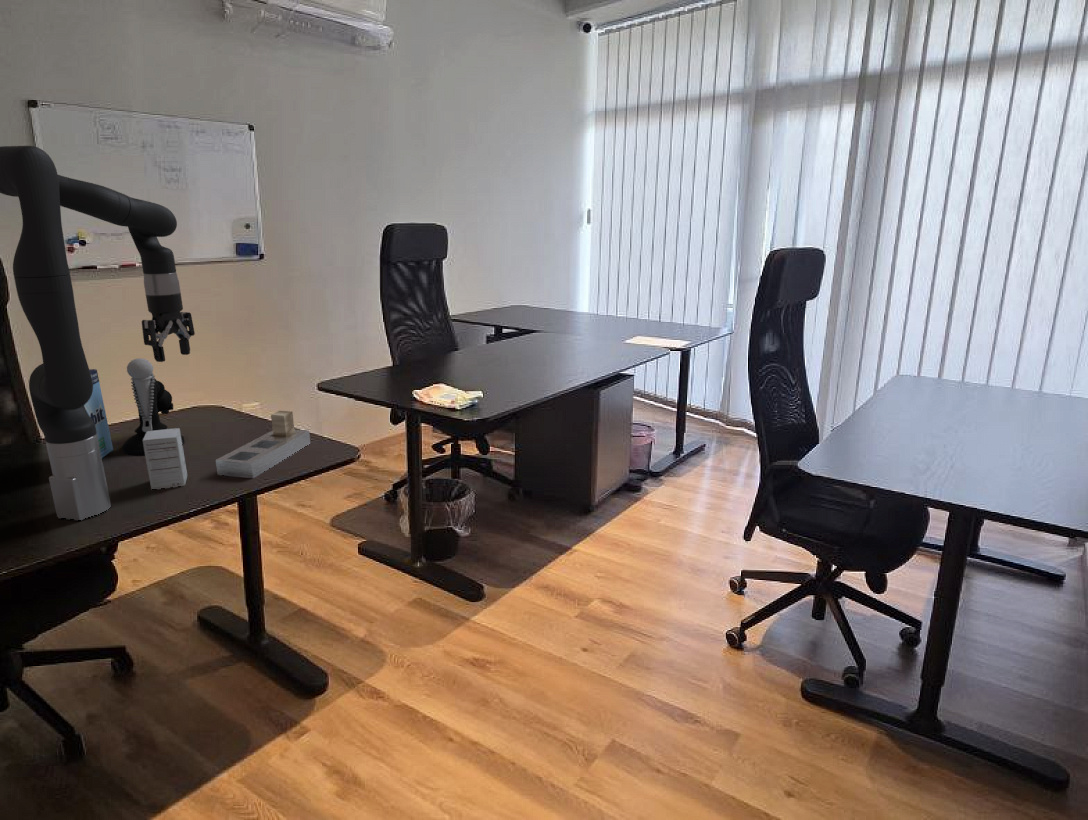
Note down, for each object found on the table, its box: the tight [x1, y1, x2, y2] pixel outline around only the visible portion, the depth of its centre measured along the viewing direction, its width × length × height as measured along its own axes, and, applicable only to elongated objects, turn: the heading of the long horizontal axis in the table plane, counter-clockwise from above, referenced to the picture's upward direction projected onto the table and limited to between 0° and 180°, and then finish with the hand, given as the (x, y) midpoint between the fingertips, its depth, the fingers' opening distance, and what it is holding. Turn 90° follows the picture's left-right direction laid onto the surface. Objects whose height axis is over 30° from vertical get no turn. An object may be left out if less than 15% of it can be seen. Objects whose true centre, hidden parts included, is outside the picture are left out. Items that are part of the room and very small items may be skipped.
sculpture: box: [121, 358, 185, 456], centre depth 196 cm, size 15×24×25 cm, turn 15°
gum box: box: [84, 368, 114, 459], centre depth 180 cm, size 20×5×23 cm, turn 8°
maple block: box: [270, 410, 296, 438], centre depth 192 cm, size 4×4×10 cm
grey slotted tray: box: [215, 429, 311, 479], centre depth 185 cm, size 26×10×4 cm, turn 167°
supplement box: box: [143, 427, 188, 491], centre depth 168 cm, size 7×7×13 cm
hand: (173, 357), depth 174 cm, fingers open, 8 cm apart
